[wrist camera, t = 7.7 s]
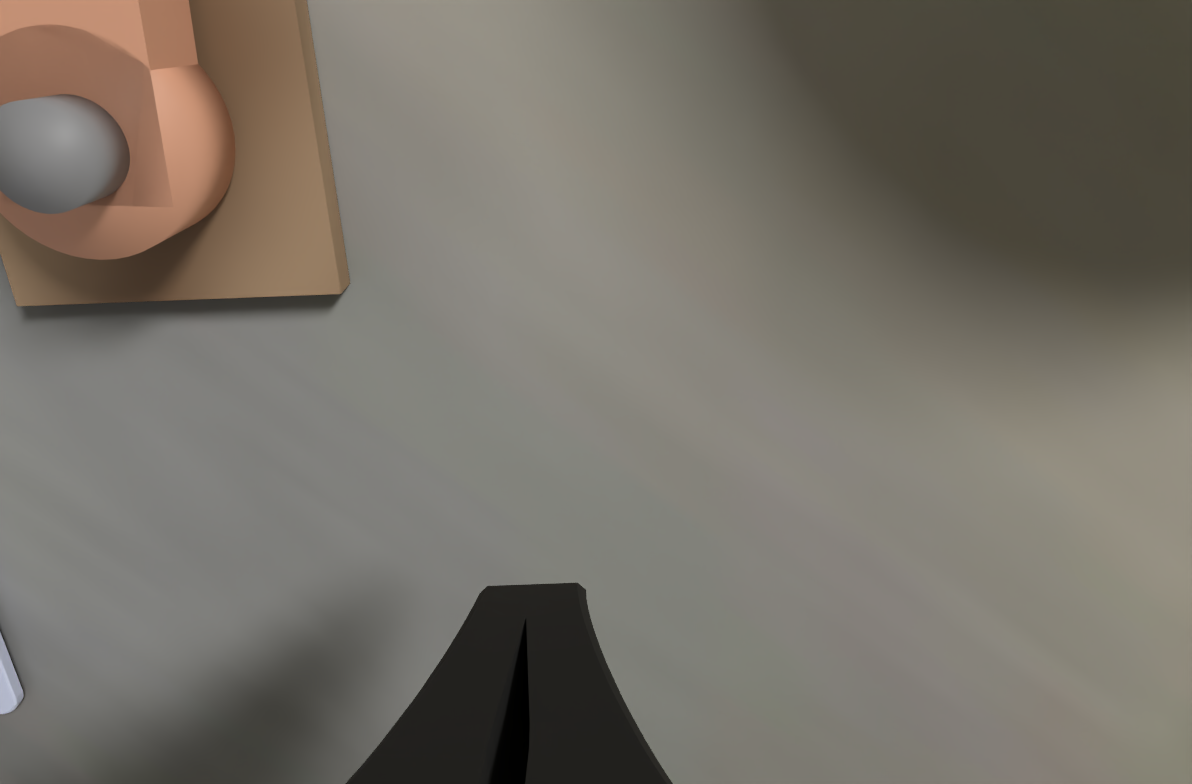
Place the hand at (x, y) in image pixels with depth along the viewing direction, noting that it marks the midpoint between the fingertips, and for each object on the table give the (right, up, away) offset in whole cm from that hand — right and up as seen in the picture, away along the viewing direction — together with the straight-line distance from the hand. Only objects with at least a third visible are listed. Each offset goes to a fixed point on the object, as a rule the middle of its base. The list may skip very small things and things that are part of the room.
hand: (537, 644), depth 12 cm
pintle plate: (-8, +9, +6) cm, 14 cm away
